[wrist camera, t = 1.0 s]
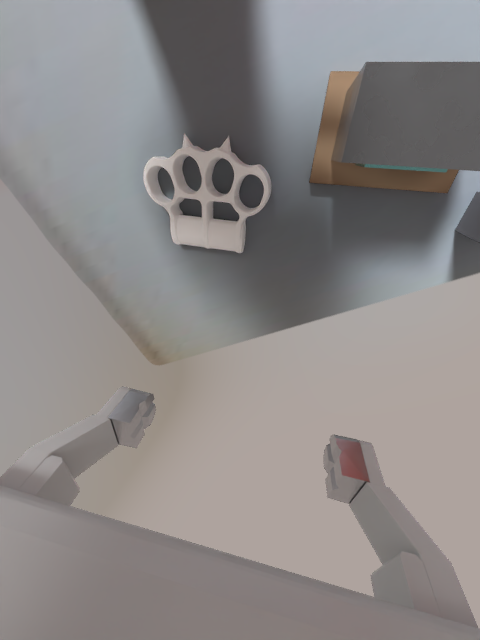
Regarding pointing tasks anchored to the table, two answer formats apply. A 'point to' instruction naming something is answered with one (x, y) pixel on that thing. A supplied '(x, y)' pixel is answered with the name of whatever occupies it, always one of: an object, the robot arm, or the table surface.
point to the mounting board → (349, 172)
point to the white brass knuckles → (205, 197)
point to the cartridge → (471, 220)
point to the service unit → (412, 117)
